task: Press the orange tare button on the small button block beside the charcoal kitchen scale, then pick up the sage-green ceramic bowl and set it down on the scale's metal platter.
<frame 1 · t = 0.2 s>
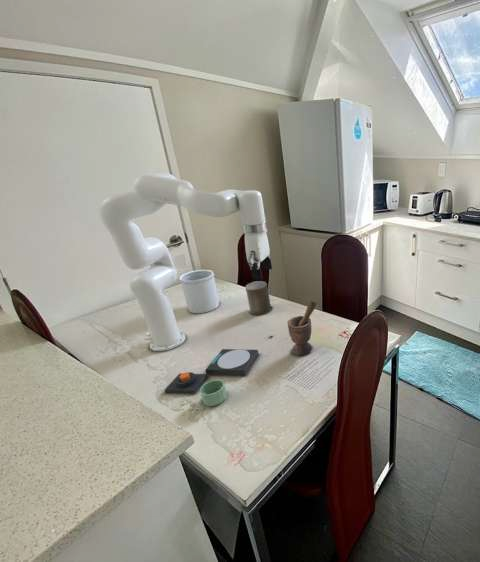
hand: (262, 273, 114), 31 cm above the table, tool pointing down, fingers open, 9 cm apart
mortar and pestle: (305, 348, 124), on the table
scale: (234, 364, 115), on the table
pillar candle: (260, 310, 153), on the table
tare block: (187, 384, 105), on the table
utensil holder: (205, 307, 157), on the table
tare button: (184, 376, 104), point 3 cm above the table, slide at 0.1 cm
bowl: (215, 399, 99), on the table
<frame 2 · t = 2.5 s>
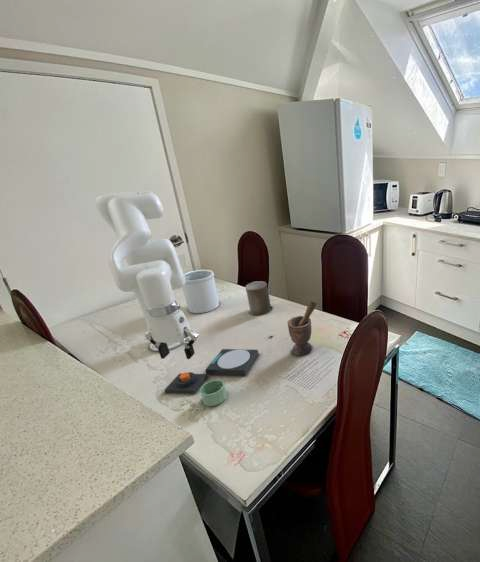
hand: (178, 356, 101), 12 cm above the table, tool pointing down, fingers open, 7 cm apart
nothing on the table moved.
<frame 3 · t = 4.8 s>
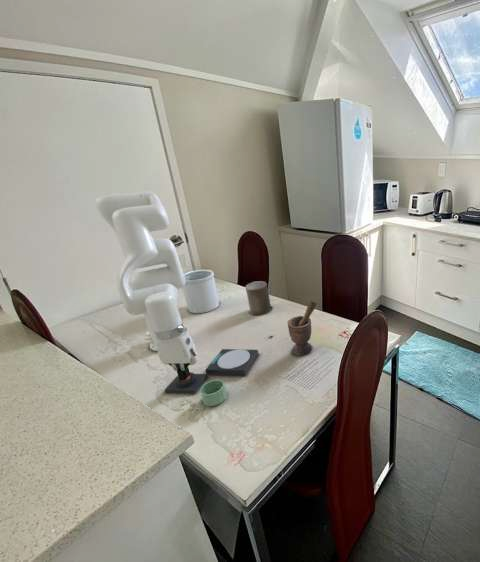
hand: (185, 377, 104), 3 cm above the table, tool pointing down, fingers closed
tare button: (185, 379, 104), point 2 cm above the table, slide at -0.8 cm, touching gripper
everything else where it was.
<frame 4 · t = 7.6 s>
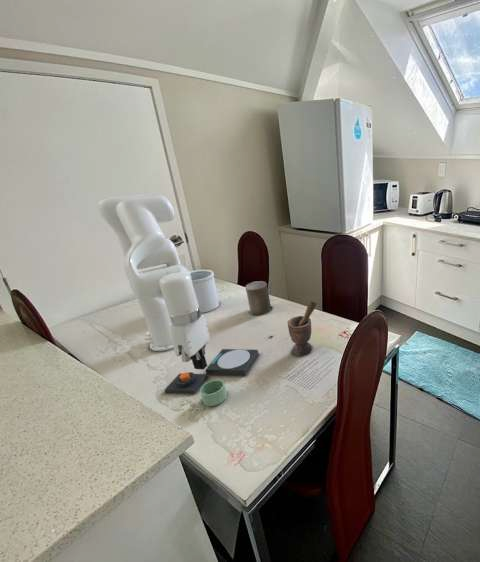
hand: (201, 367, 96), 12 cm above the table, tool pointing down, fingers closed
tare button: (184, 377, 104), point 3 cm above the table, slide at 0.1 cm
everything else where it was.
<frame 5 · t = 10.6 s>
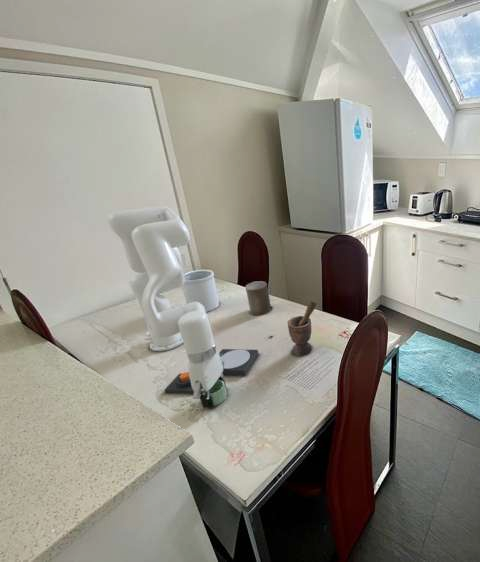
hand: (215, 397, 99), 1 cm above the table, tool pointing down, fingers closed on bowl, 6 cm apart
bowl: (215, 399, 99), on the table, touching gripper
everything else where it was.
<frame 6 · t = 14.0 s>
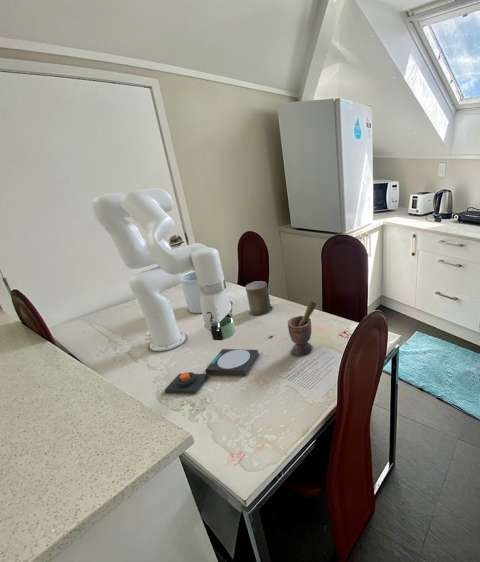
hand: (224, 333, 107), 15 cm above the table, tool pointing down, fingers closed on bowl, 6 cm apart
bowl: (224, 334, 107), point 15 cm above the table, touching gripper
everything else where it was.
when the fingers open (4 cm above the table, at t = 17.4 s): bowl stays where it is, resting on scale.
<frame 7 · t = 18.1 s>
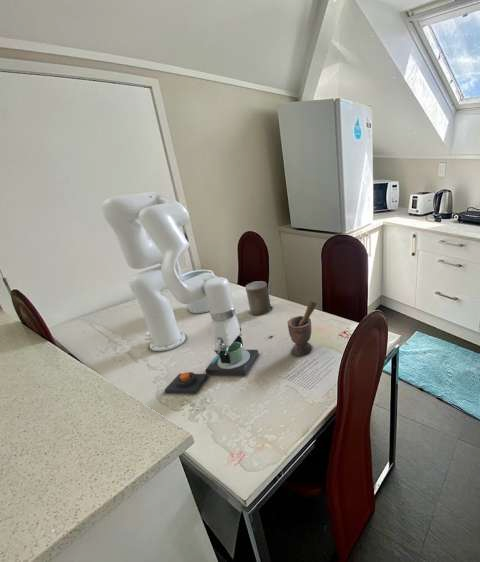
hand: (232, 354, 113), 5 cm above the table, tool pointing down, fingers open, 9 cm apart
bowl: (234, 358, 114), point 3 cm above the table, touching scale
everything else where it was.
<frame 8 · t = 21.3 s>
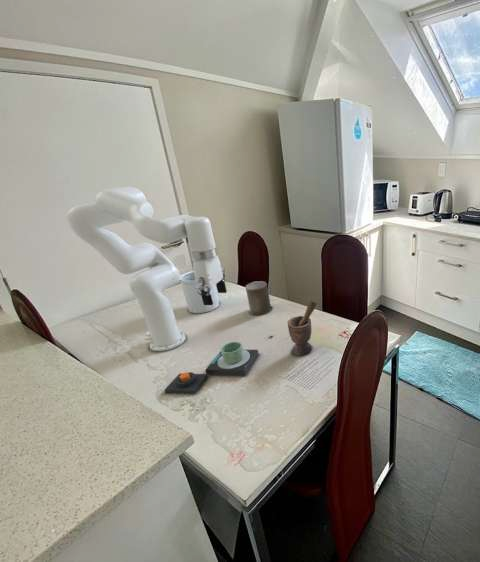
hand: (215, 298, 113), 23 cm above the table, tool pointing down, fingers open, 9 cm apart
nothing on the table moved.
at the end: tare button pushed in 0.9 cm at the most during the clip, back to where it started at the end; bowl inside the target area on the scale (0.1 cm from its centre), point 2.8 cm above the scale's base; bowl tilted 0° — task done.
